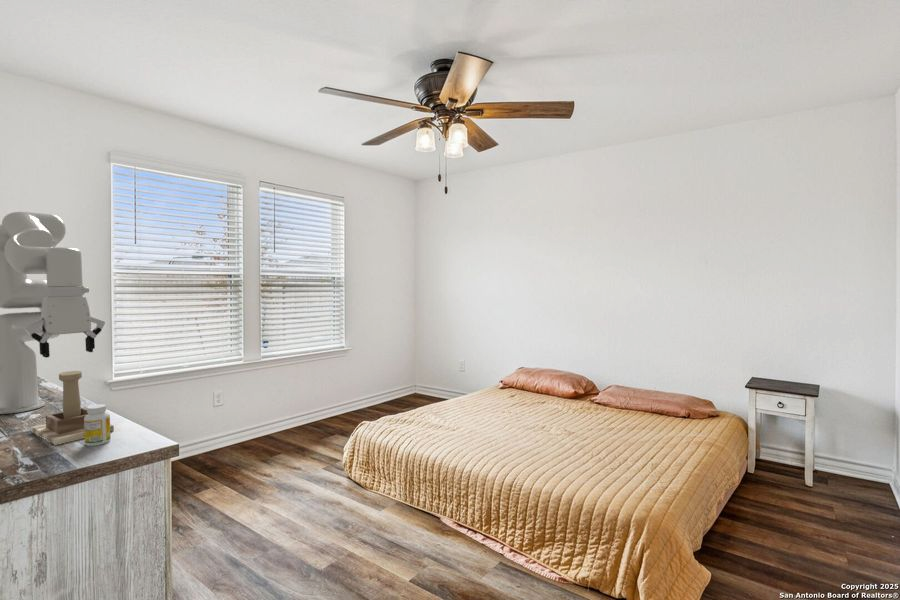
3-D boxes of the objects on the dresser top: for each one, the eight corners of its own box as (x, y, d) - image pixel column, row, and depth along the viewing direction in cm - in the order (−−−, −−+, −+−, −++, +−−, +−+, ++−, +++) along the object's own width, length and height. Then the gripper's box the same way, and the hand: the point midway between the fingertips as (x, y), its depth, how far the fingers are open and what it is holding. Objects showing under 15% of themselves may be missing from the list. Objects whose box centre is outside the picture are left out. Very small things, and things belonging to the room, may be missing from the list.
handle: (61, 431, 124) (58, 376, 123) (61, 425, 128) (59, 372, 128) (84, 427, 127) (81, 373, 126) (83, 421, 132) (81, 370, 131)
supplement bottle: (93, 447, 116) (91, 410, 115) (80, 444, 118) (78, 408, 117) (115, 440, 121) (113, 404, 120) (102, 437, 123) (100, 402, 122)
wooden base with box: (32, 432, 127) (31, 414, 127) (88, 419, 138) (88, 403, 138) (54, 445, 117) (53, 426, 117) (113, 430, 128) (113, 413, 128)
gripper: (97, 291, 135) (100, 348, 136) (19, 293, 120) (22, 357, 121) (108, 292, 130) (110, 351, 132) (28, 294, 116) (31, 360, 117)
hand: (68, 354), depth 127 cm, fingers open, 9 cm apart
